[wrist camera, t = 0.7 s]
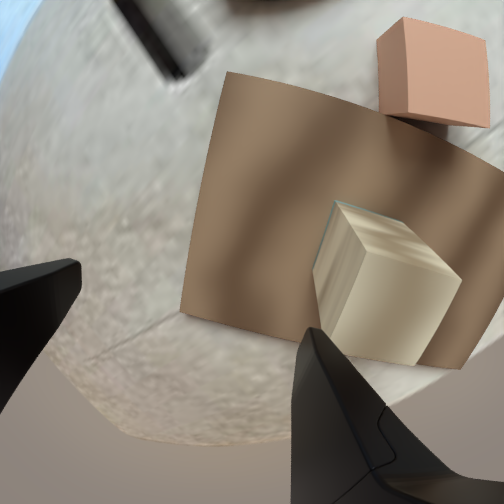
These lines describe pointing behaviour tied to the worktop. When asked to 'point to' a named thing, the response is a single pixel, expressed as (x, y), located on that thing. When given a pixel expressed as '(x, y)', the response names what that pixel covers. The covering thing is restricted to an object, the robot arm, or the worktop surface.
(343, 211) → the maple block
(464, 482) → the robot arm
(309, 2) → the worktop surface
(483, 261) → the walnut board
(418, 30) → the terracotta cube
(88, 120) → the worktop surface
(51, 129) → the worktop surface
